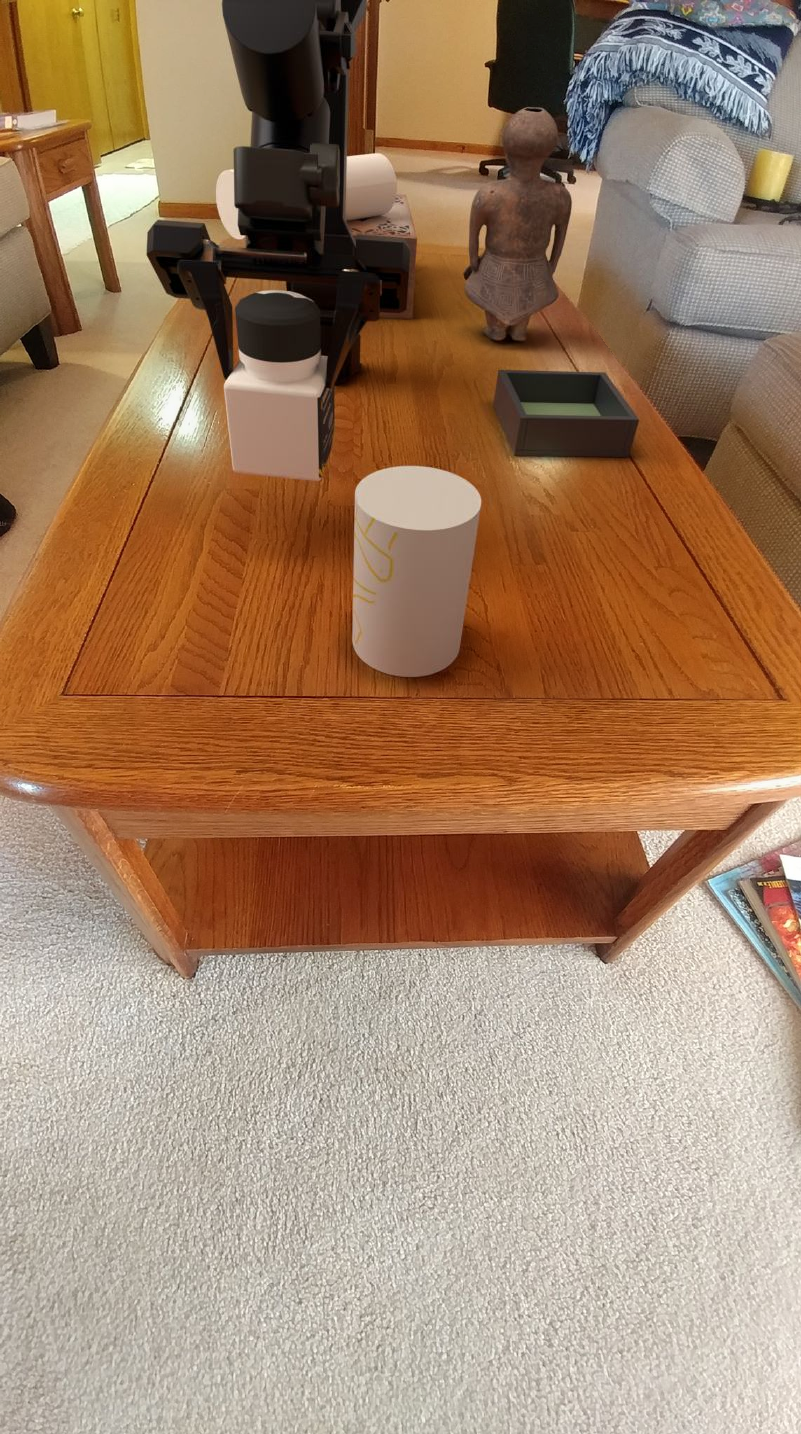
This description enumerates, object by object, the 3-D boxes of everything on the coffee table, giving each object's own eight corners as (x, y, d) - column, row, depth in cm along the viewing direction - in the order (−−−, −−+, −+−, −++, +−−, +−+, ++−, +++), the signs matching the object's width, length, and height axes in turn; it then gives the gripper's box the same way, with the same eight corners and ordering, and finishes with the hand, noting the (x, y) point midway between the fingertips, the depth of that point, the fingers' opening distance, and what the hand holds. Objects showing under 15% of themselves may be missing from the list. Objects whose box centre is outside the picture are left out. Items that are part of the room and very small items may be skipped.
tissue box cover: (412, 318, 108) (417, 238, 101) (310, 314, 107) (308, 232, 99) (402, 266, 126) (405, 194, 119) (315, 261, 125) (313, 189, 117)
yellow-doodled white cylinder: (350, 607, 59) (352, 464, 51) (452, 607, 60) (471, 466, 52) (354, 677, 54) (357, 529, 45) (467, 676, 54) (491, 530, 46)
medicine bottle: (321, 483, 59) (318, 320, 51) (231, 474, 60) (213, 310, 51) (335, 441, 64) (334, 287, 56) (252, 433, 64) (239, 277, 56)
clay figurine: (540, 326, 109) (579, 105, 91) (558, 351, 102) (604, 117, 84) (452, 324, 107) (475, 98, 89) (464, 349, 100) (491, 111, 83)
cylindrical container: (256, 236, 93) (400, 212, 106) (241, 165, 89) (392, 149, 102) (225, 241, 97) (366, 217, 110) (209, 174, 93) (358, 157, 106)
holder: (514, 455, 79) (520, 417, 76) (493, 405, 88) (498, 369, 85) (628, 457, 81) (639, 419, 78) (596, 407, 90) (605, 372, 87)
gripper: (125, 71, 48) (114, 320, 48) (419, 94, 48) (406, 339, 48) (173, 190, 59) (164, 391, 59) (411, 208, 59) (401, 407, 60)
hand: (277, 383), depth 56 cm, fingers closed on medicine bottle, 7 cm apart
